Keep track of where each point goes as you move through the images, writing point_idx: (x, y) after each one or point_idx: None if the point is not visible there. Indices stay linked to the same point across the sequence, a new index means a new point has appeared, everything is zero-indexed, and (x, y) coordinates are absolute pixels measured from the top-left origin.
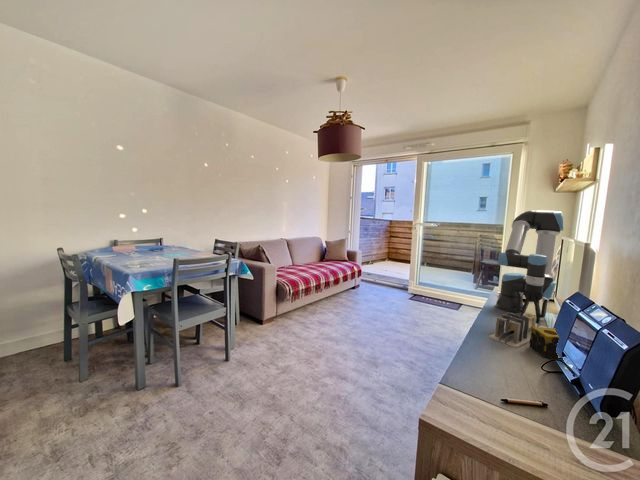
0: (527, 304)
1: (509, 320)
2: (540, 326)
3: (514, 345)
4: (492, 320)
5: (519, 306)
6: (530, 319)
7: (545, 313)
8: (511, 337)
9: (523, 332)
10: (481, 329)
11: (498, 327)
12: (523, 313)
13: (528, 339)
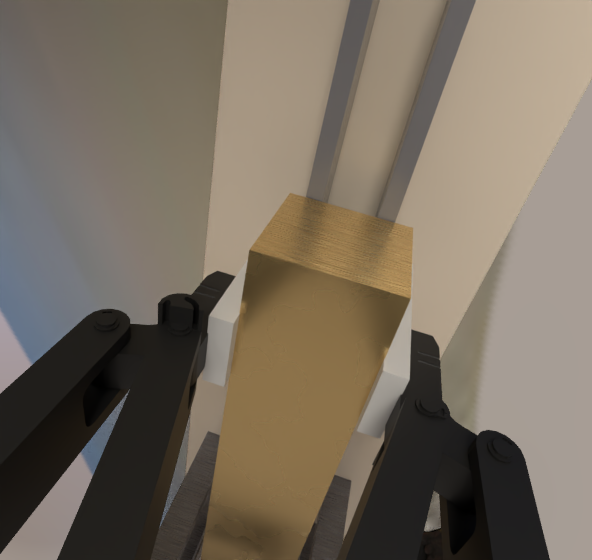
0: (149, 540)
1: (184, 548)
2: (472, 31)
3: None
4: (28, 220)
5: (77, 443)
6: (324, 491)
7: (530, 525)
8: None
9: (316, 522)
10: (104, 448)
11: None
12: (203, 365)
13: (360, 491)
